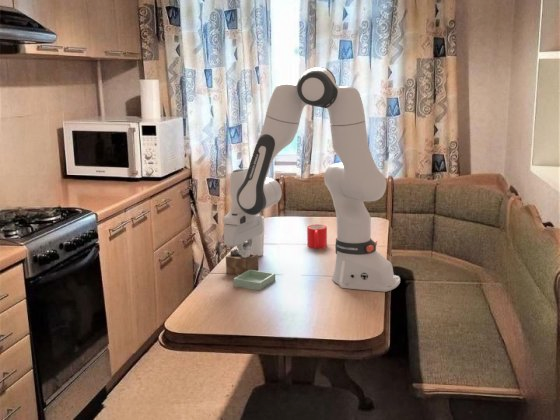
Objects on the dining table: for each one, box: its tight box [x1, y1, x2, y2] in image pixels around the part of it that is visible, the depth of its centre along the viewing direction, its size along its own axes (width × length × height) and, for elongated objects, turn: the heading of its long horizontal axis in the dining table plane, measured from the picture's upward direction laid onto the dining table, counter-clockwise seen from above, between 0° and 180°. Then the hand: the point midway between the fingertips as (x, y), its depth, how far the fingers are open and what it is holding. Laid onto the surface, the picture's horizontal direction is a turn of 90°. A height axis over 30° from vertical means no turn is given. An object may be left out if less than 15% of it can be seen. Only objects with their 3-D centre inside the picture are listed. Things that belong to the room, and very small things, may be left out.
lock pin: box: [241, 241, 250, 259], centre depth 204 cm, size 3×3×11 cm
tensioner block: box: [225, 248, 259, 276], centre depth 205 cm, size 9×7×8 cm
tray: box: [232, 269, 276, 291], centre depth 194 cm, size 10×10×2 cm
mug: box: [306, 224, 328, 249], centre depth 232 cm, size 8×12×8 cm, turn 177°
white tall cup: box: [250, 215, 265, 257], centre depth 223 cm, size 7×7×15 cm
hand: (245, 252), depth 203 cm, fingers closed on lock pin, 3 cm apart
